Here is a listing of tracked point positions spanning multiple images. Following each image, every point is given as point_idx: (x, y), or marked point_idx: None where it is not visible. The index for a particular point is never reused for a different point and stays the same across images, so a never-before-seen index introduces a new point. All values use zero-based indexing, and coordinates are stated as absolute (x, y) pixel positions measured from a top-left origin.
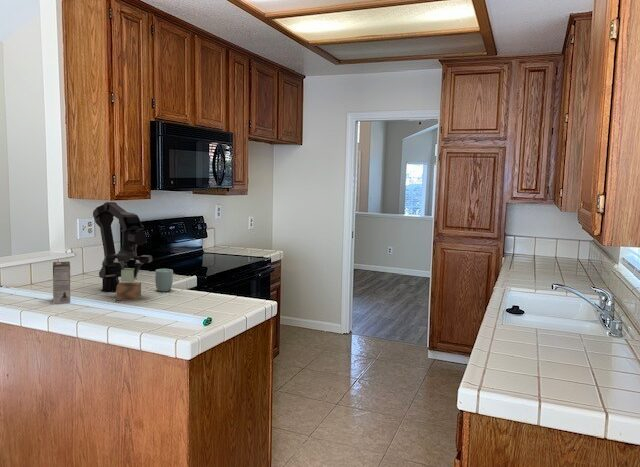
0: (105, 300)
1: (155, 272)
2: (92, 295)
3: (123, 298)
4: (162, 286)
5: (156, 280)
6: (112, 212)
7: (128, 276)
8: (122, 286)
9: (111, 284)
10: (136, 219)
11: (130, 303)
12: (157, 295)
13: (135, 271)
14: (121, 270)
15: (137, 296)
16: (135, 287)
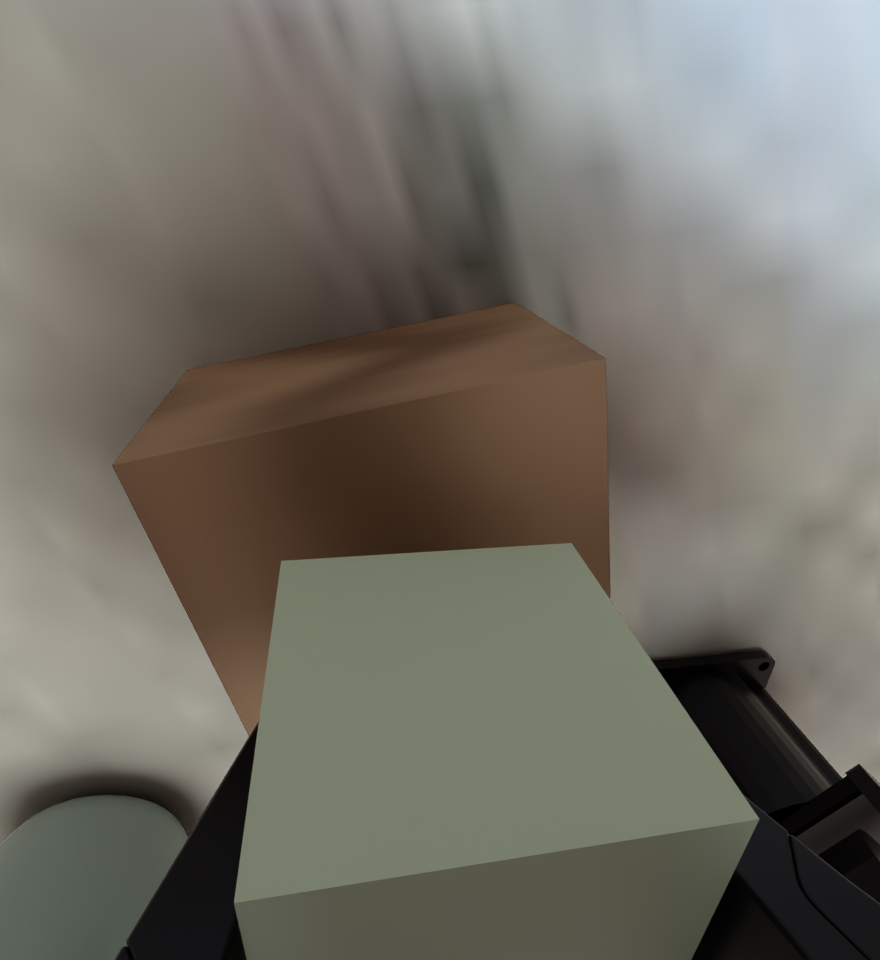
0: (657, 225)
1: None
2: (837, 474)
3: (413, 326)
4: (40, 851)
5: (124, 941)
6: None
7: (408, 651)
8: (475, 385)
9: (710, 737)
10: None
11: (165, 24)
12: (46, 644)
13: (191, 919)
14: (734, 801)
15: (189, 384)
16: (188, 441)
